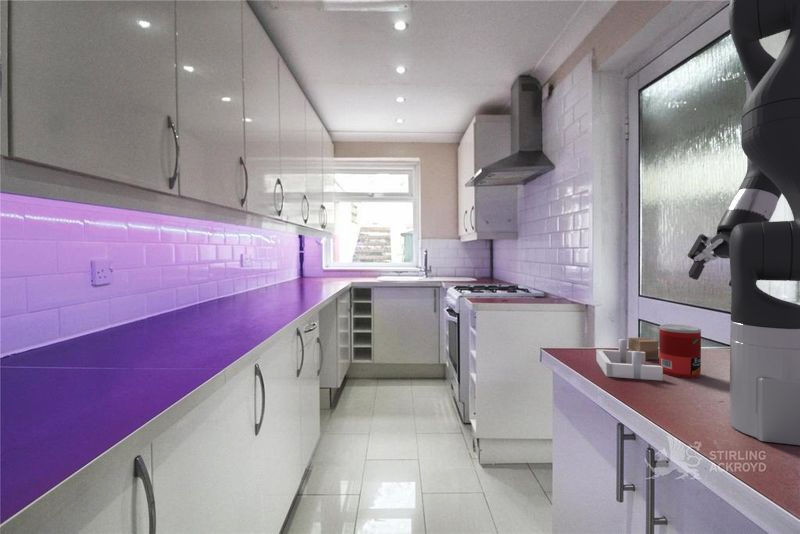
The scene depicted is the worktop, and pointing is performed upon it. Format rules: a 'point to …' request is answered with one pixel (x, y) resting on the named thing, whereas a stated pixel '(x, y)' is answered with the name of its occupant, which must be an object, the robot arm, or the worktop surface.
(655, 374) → the tray
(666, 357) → the canned food
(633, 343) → the walnut block
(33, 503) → the worktop surface
